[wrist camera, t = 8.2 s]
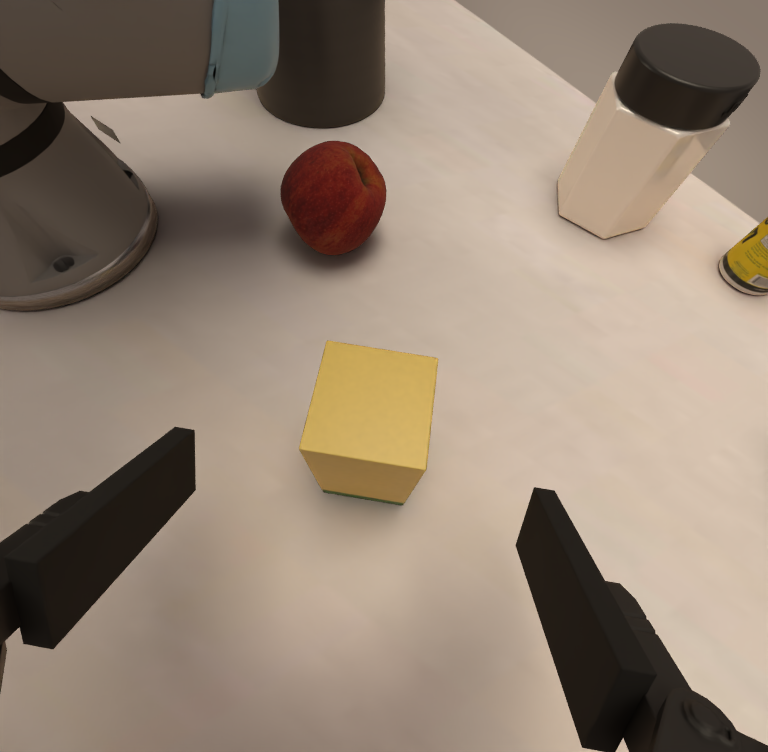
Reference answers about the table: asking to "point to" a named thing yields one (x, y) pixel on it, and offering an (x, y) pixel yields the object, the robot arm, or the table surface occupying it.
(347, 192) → the apple
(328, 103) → the vase
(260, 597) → the table surface
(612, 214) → the jar
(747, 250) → the supplement bottle
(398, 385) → the sponge
